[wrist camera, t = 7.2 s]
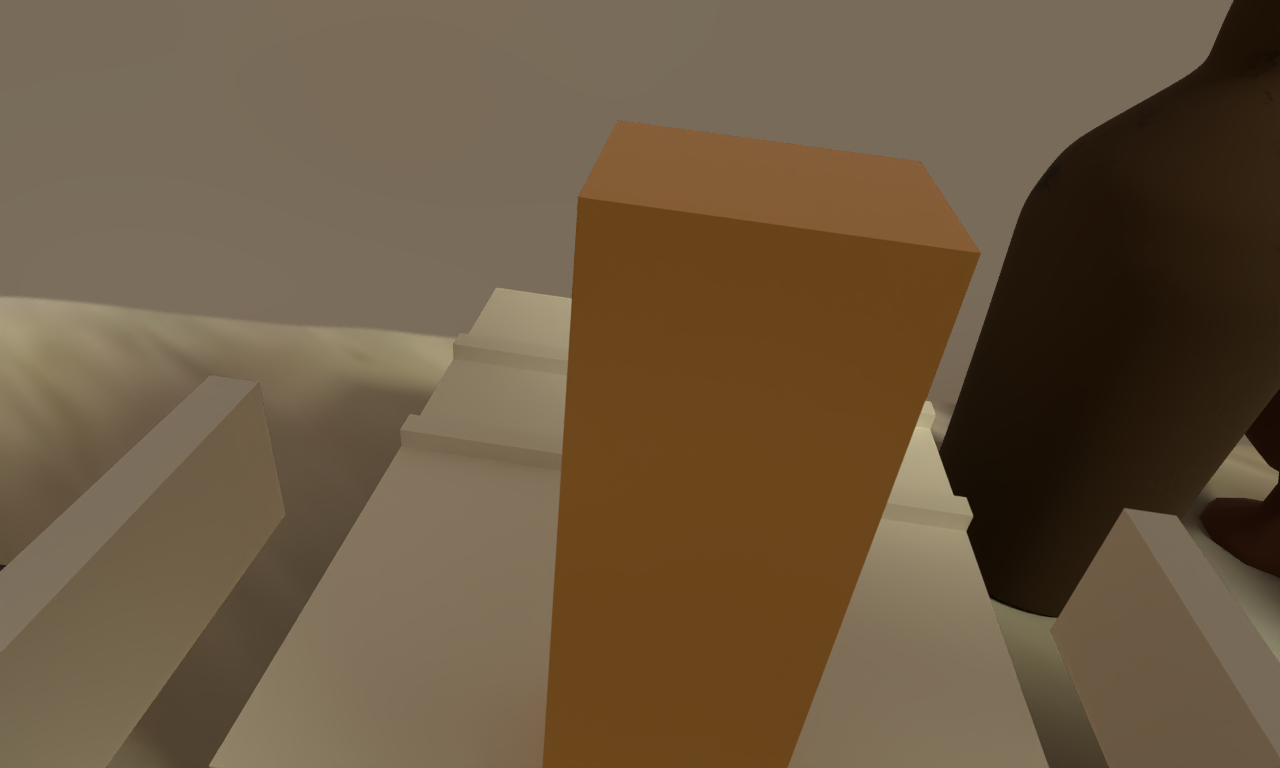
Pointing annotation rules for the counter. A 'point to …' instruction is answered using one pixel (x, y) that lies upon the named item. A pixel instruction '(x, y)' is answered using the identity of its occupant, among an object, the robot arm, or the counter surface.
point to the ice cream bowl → (1253, 504)
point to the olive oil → (1127, 323)
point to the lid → (675, 502)
